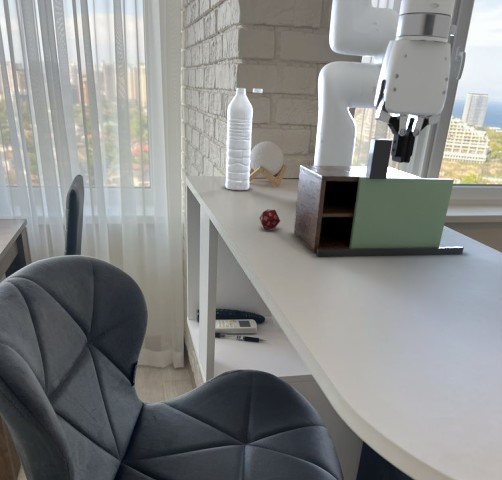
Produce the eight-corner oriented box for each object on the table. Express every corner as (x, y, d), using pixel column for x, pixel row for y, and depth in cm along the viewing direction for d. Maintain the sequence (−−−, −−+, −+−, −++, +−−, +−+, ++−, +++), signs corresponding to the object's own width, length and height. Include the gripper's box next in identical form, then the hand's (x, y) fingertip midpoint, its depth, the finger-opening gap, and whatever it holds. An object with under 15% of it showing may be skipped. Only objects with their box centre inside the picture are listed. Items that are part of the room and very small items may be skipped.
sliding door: (348, 250, 89) (364, 138, 81) (436, 249, 93) (459, 141, 84) (352, 253, 87) (368, 139, 79) (441, 252, 91) (465, 142, 83)
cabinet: (293, 234, 98) (300, 165, 93) (423, 233, 104) (436, 168, 99) (317, 256, 86) (326, 178, 80) (462, 254, 92) (480, 180, 86)
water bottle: (224, 189, 136) (227, 86, 125) (226, 185, 142) (229, 86, 131) (256, 191, 136) (262, 88, 125) (257, 187, 142) (262, 88, 131)
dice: (261, 225, 103) (262, 206, 102) (282, 228, 102) (284, 208, 100) (255, 229, 100) (256, 209, 98) (276, 233, 99) (278, 212, 97)
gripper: (453, 37, 79) (429, 159, 88) (365, 29, 76) (348, 157, 84) (482, 33, 73) (453, 166, 81) (388, 25, 70) (367, 163, 78)
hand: (400, 161), depth 83 cm, fingers closed
